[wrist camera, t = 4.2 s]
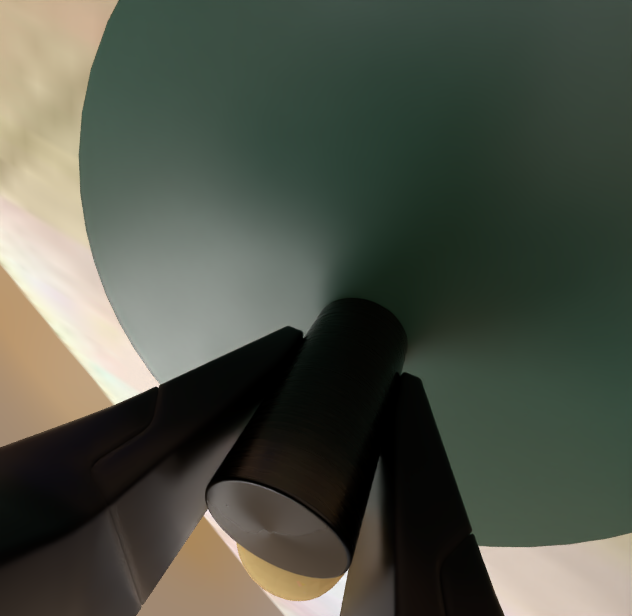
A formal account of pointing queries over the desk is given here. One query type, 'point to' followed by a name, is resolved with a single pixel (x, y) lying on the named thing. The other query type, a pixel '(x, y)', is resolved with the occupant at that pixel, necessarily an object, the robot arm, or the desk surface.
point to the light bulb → (284, 579)
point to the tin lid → (380, 246)
